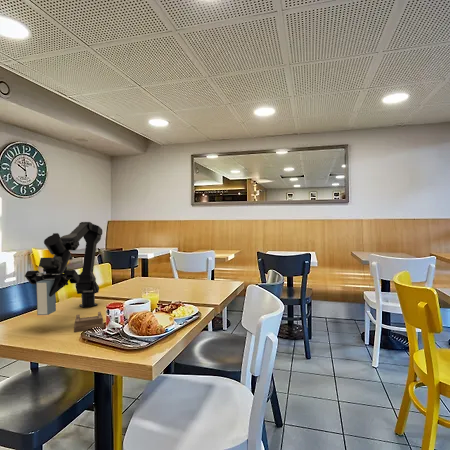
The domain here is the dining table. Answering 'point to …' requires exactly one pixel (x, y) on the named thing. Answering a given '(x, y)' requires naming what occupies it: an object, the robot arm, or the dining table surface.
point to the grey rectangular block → (45, 297)
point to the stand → (88, 322)
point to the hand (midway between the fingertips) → (44, 296)
